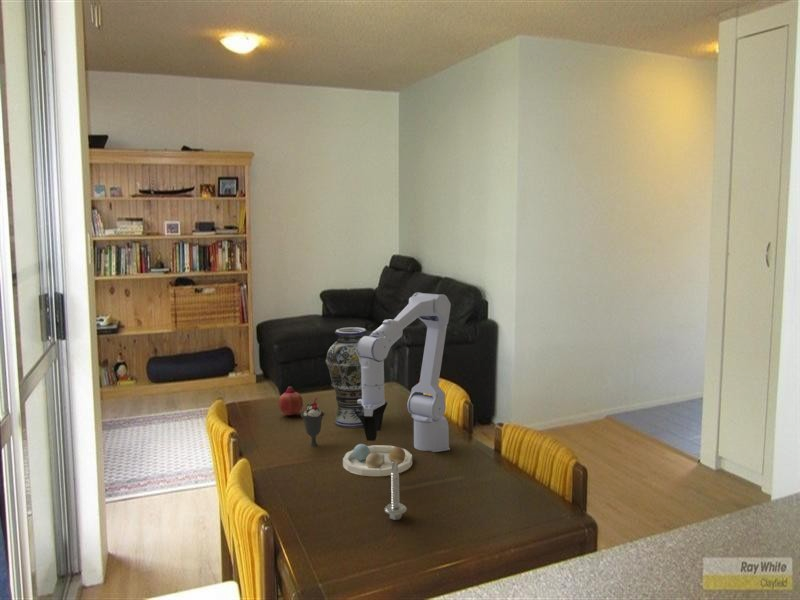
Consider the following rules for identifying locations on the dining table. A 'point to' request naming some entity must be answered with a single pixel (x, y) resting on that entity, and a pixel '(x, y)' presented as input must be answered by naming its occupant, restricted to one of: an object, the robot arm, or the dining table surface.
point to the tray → (386, 469)
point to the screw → (395, 495)
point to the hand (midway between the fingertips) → (373, 435)
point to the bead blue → (361, 452)
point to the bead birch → (374, 460)
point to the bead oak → (397, 455)
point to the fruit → (290, 402)
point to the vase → (346, 376)
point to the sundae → (313, 421)
